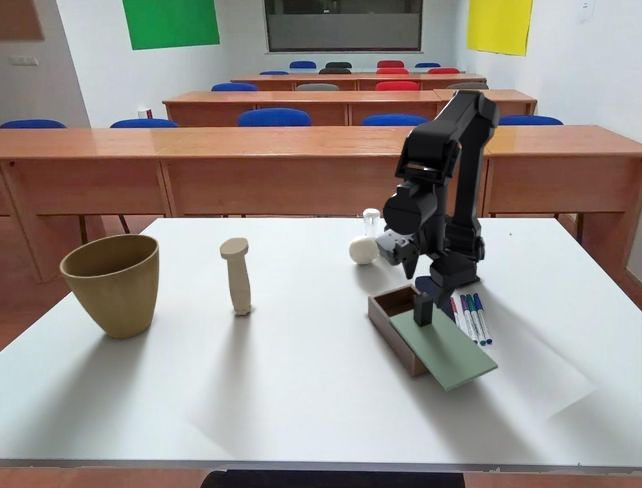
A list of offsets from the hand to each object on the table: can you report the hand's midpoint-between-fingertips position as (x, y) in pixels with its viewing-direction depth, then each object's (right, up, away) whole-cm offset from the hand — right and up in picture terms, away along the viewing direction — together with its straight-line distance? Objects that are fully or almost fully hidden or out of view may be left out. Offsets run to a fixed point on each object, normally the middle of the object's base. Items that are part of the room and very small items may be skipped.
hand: (423, 292), depth 67 cm
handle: (-35, -7, +12) cm, 38 cm away
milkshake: (-9, +3, +40) cm, 41 cm away
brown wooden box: (-1, -9, +6) cm, 11 cm away
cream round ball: (-11, -1, +30) cm, 32 cm away
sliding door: (+2, -8, -2) cm, 8 cm away
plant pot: (-55, -9, +8) cm, 56 cm away
